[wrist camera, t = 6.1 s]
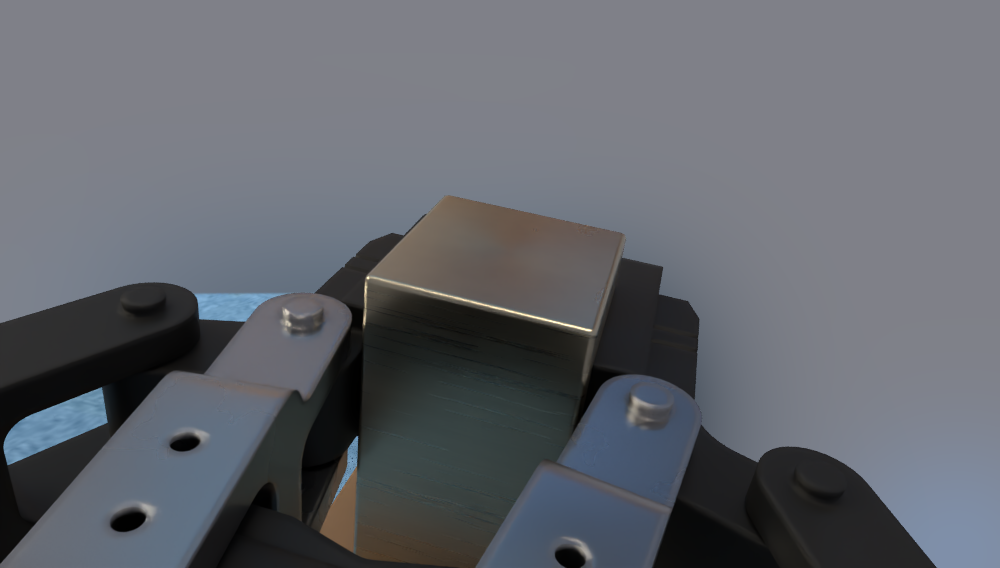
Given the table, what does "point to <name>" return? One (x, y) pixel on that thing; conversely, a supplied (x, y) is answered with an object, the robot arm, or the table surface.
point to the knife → (472, 373)
